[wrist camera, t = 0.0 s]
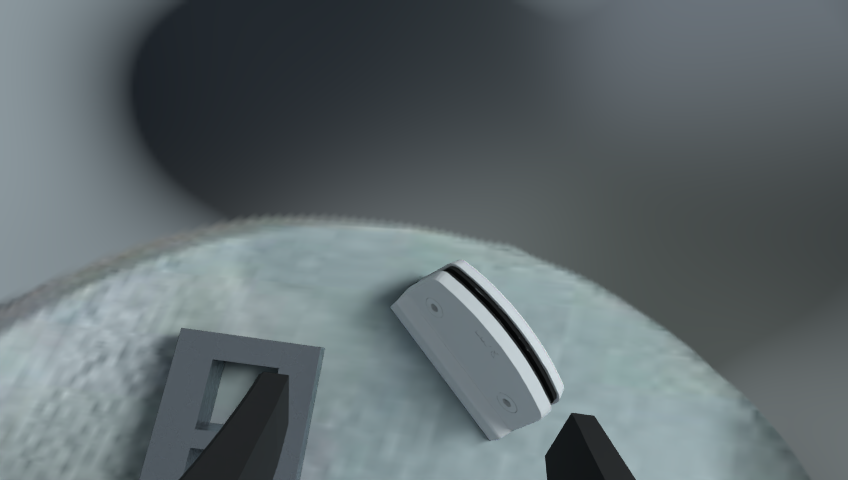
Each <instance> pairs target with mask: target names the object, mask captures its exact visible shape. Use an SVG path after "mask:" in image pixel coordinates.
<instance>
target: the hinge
mask: <svg viewBox="0 0 848 480" xmlns="http://www.w3.org/2000/svg"><path fill="white" fill-rule="evenodd" d="M390 308H391V309H392V310H393V312H394V313H395V314H396V316H397V317H398V318H399V320H400V321H401V323H402V324H403V325H404V327H405V328H406V329H407V331H408V332H409V333H410V335H411V336H412V337H413V339H414V340H415V341H416V343H417V344H418V345H419V347H420V348H421V349H422V351H423V352H424V353H425V355H426V356H427V357H428V359H429V360H430V361H431V363H432V364H433V365H434V367H435V368H436V369H437V371H438V372H439V373H440V375H441V376H442V377H443V379H444V380H445V381H446V383H447V384H448V385H449V387H450V388H451V389H452V391H453V392H454V393H455V395H456V396H457V397H458V399H459V400H460V401H461V403H462V404H463V405H464V407H465V408H466V409H467V411H468V412H469V413H470V415H471V416H472V417H473V419H474V420H475V421H476V423H477V424H478V425H479V427H480V428H481V429H482V431H483V432H484V433H485V435H486V436H487V437H488V439H489V440H490V441H491V440H499V439H501V438H502V437H504V436H505V435H507V434H508V433H510V432H512V431H514V430H516V429H519V428H521V427H524V426H526V425H529V424H531V423H534V422H536V421H539V420H541V419H542V418H543V417H545V416H546V415H547V414H548V413H549V412H550V411H551V405H553V404H555V403H557V402H558V401H559V400H560V397H561V395H562V392H563V390H564V385H563V383H562V380H561V378H560V376H559V374H558V372H557V370H556V368H555V366H554V364H553V362H552V360H551V359H550V357H549V355H548V354H547V352H546V350H545V349H544V347H543V346H542V344H541V342H540V341H539V339H538V338H537V336H536V335H535V334H534V332H533V331H532V329H531V328H530V327H529V325H528V324H527V323H526V321H525V320H524V319H523V317H522V316H521V315H520V314H519V313H518V311H517V310H516V309H515V308H514V307H513V305H512V304H511V303H510V302H509V301H508V300H507V299H506V298H505V297H504V296H503V294H502V293H501V292H500V291H499V290H498V289H497V288H496V287H495V286H494V285H493V284H492V283H491V282H490V281H489V280H488V279H486V278H485V277H484V276H483V275H482V274H481V273H480V272H478V271H477V270H476V269H475V268H474V267H472V266H471V265H470V264H469V263H467V262H466V261H464V260H457V261H455V262H452V263H450V264H447V265H446V266H444V267H442V268H440V269H438V270H437V271H435V272H433V273H431V274H429V275H428V276H426V277H424V278H422V279H420V280H419V282H418V283H416V284H414V285H412V286H410V287H409V288H408V289H407V290H406V291H405V292H404V293H403V294H402V295H401V296H400V298H399V299H398V300H397V301H396V302H395V303H393V305H392V306H391V307H390Z"/></svg>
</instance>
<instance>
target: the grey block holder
mask: <svg viewBox="0 0 848 480" xmlns="http://www.w3.org/2000/svg"><path fill="white" fill-rule="evenodd" d="M324 349H325V348H322V347H314V346H307V345H300V344H293V343H286V342H279V341H272V340H264V339H257V338H250V337H243V336H236V335H229V334H222V333H214V332H207V331H200V330H193V329H185V328H181V331H180V335H179V338H178V342H177V345H176V349H175V352H174V356H173V360H172V363H171V367H170V370H169V374H168V378H167V381H166V385H165V388H164V392H163V396H162V399H161V403H160V406H159V410H158V414H157V417H156V421H155V424H154V428H153V432H152V435H151V439H150V442H149V446H148V450H147V453H146V457H145V460H144V464H143V468H142V471H141V475H140V478H139V480H179V479H180V478H181V476H182V475H183V474H184V473H185V472H186V471H187V470H188V468H189V467H190V466H191V465H192V464H193V463H194V461H195V460H196V459H197V458H198V457H199V455H200V454H201V453H202V452H203V449H205V448H206V447H207V445H208V444H209V443H210V442H211V440H212V439H213V438H214V437H215V435H216V434H217V433H218V432H219V430H220V429H221V428H222V427H223V424H215V423H210V420H211V416H212V412H213V407H214V403H215V399H216V395H217V391H218V387H219V383H220V379H221V375H222V371H223V367H224V363H225V361H229V362H237V363H244V364H251V365H259V366H266V367H274V368H279V370H278V374H285V375H289V424H288V428H287V432H286V436H285V440H284V444H283V447H282V451H281V455H280V459H279V462H278V466H277V469H276V472H275V475H274V477H273V480H300V476H301V470H302V465H303V460H304V455H305V449H306V444H307V439H308V434H309V428H310V423H311V418H312V412H313V407H314V402H315V397H316V391H317V386H318V381H319V376H320V370H321V365H322V360H323V355H324Z"/></svg>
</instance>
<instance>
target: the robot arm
mask: <svg viewBox="0 0 848 480" xmlns="http://www.w3.org/2000/svg"><path fill="white" fill-rule="evenodd" d="M288 424H289V375H285V374H277V373H270V372H262V373H261V374H259V375H258V377H257V379H256V380H255V382H254V383H253V385H252V386H251V388H250V389H249V391H248V392H247V394H246V395H245V397H244V398H243V400H242V401H241V402H240V404H239V405H238V407H237V408H236V409H235V411H234V412H233V413H232V415H231V416H230V417H229V419H228V420H227V421H226V423H225V424H224V425H223V427H222V428H221V429H220V430H219V432H218V433H217V434H216V435H215V437H214V438H213V439H212V440H211V442H210V443H209V444H208V445H207V447H206V448H205V449H204V450H203V452H202V453H201V454H200V455H199V457H198V458H197V459H196V460H195V461H194V463H193V464H192V465H191V466H190V467H189V468H188V470H187V471H186V472H185V473H184V474H183V475H182V476H181V478H180V479H179V480H273V477H274V475H275V472H276V469H277V466H278V462H279V459H280V455H281V451H282V447H283V444H284V440H285V436H286V432H287V428H288ZM545 461H546V472H547V480H636V479H635V478H634V476H633V475H632V473H631V472H630V470H629V469H628V467H627V465H626V464H625V462H624V461H623V459H622V458H621V456H620V455H619V453H618V452H617V450H616V449H615V447H614V445H613V444H612V442H611V441H610V439H609V438H608V436H607V435H606V433H605V432H604V430H603V428H602V427H601V425H600V424H599V422H598V421H597V419H596V418H595V416H592V415H584V414H577V413H571V415H570V416H569V418H568V419H567V421H566V423H565V424H564V426H563V428H562V429H561V431H560V432H559V434H558V436H557V437H556V439H555V441H554V442H553V444H552V445H551V447H550V449H549V450H548V452H547V454H546V455H545Z"/></svg>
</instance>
